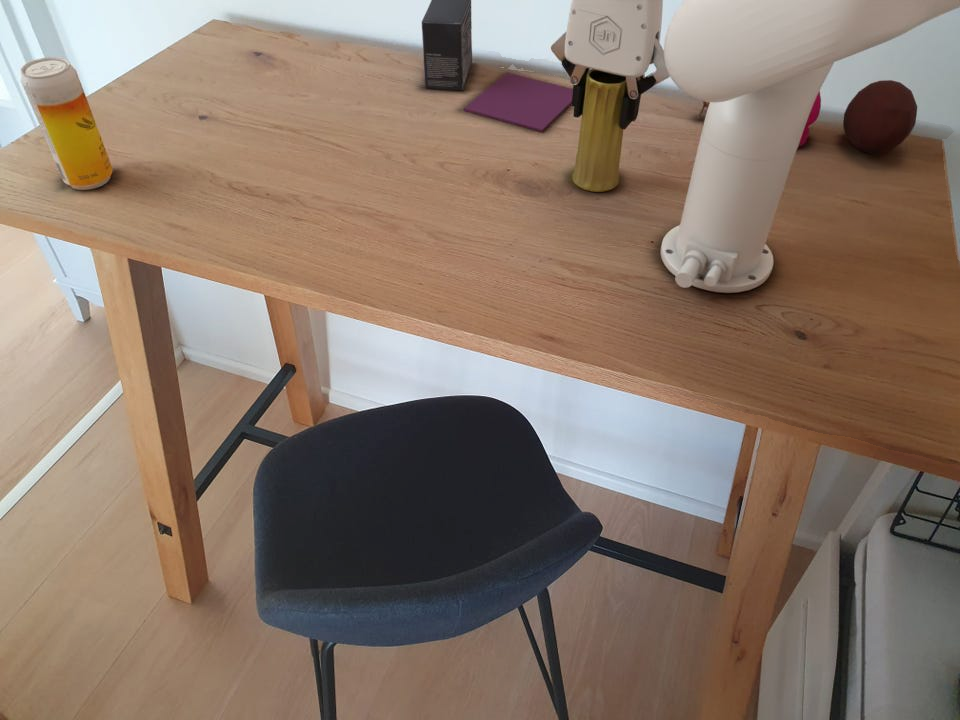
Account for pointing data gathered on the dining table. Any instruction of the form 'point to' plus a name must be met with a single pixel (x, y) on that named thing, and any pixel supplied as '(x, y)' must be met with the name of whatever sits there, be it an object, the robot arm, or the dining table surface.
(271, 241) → the dining table surface
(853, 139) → the dark brown egg
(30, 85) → the beer can
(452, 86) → the small box
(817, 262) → the dining table surface
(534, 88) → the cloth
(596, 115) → the vase
